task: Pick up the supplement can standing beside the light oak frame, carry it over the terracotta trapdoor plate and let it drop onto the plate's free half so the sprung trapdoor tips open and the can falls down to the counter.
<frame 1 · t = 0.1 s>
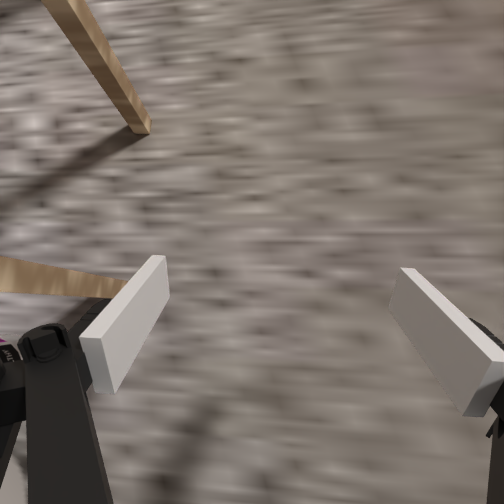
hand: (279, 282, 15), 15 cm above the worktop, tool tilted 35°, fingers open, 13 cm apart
trapdoor frame: (47, 199, 33), on the worktop
supplement can: (11, 372, 29), on the worktop
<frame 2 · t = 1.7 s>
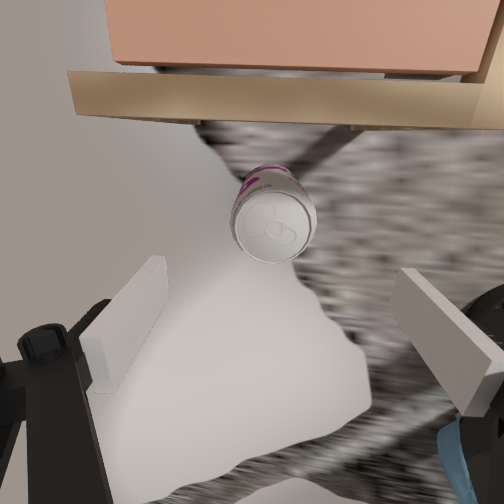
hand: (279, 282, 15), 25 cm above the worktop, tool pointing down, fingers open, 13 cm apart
trapdoor frame: (281, 12, 30), on the worktop
supplement can: (270, 193, 38), on the worktop
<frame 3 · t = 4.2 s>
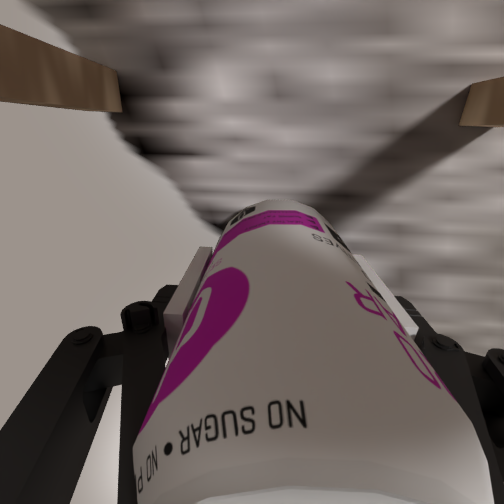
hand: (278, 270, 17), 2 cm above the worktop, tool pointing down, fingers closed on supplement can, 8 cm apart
supplement can: (276, 253, 19), on the worktop, touching gripper
when the fingers open (27 cm above the worktop, at t = 9.6 s): supplement can drops 21 cm, point 4 cm above the worktop.
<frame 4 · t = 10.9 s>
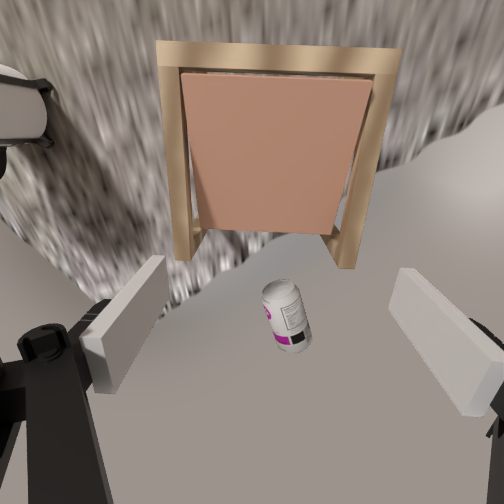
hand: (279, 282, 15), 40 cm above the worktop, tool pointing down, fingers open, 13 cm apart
trapdoor frame: (267, 155, 50), on the worktop
supplement can: (295, 342, 63), point 4 cm above the worktop
coffee press: (26, 116, 49), on the worktop
trapdoor: (269, 165, 32), point 19 cm above the worktop, hinge at -17.3°
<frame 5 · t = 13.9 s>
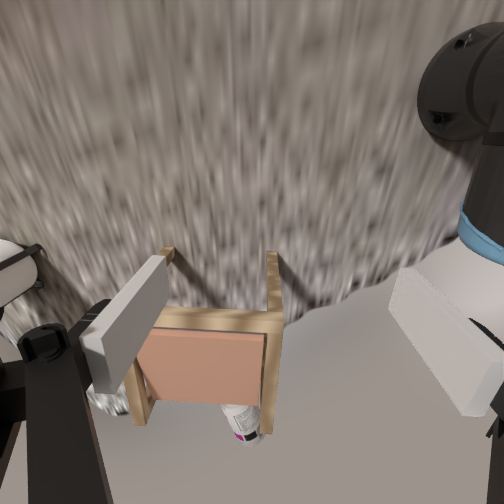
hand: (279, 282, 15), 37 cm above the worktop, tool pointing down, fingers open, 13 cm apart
trapdoor frame: (221, 296, 60), on the worktop
supplement can: (252, 432, 73), point 4 cm above the worktop
coffee press: (20, 265, 59), on the worktop
trapdoor: (202, 366, 42), point 20 cm above the worktop, hinge at -11.7°
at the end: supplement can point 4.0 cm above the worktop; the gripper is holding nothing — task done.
